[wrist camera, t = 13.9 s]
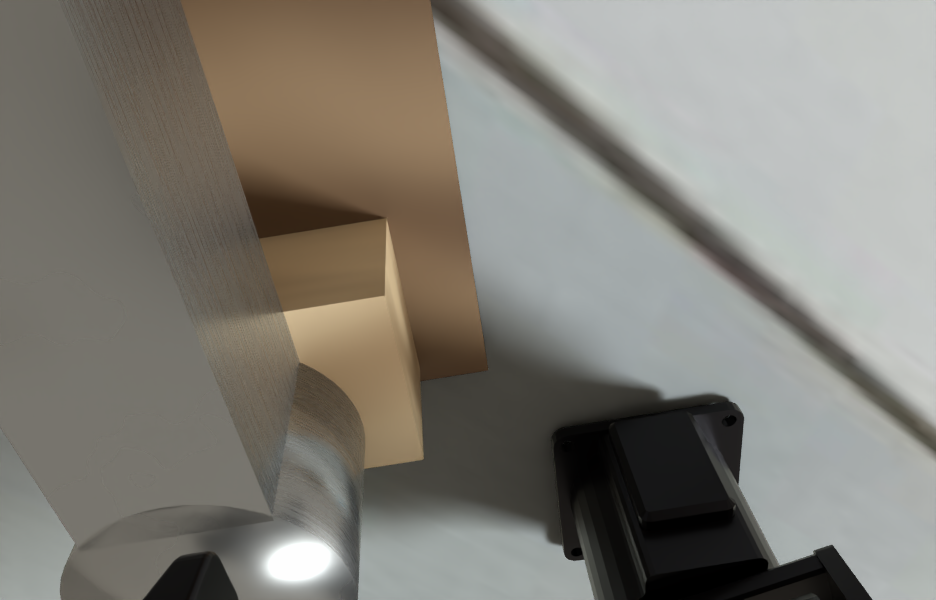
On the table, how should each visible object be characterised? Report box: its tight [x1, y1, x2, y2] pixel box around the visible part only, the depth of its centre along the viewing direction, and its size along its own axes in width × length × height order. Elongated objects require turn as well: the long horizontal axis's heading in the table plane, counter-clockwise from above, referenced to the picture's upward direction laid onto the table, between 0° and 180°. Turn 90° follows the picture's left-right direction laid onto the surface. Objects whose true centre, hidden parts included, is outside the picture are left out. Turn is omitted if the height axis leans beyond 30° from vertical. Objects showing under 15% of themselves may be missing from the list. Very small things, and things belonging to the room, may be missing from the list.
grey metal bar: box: [0, 0, 365, 600], centre depth 11 cm, size 26×6×4 cm, turn 8°
